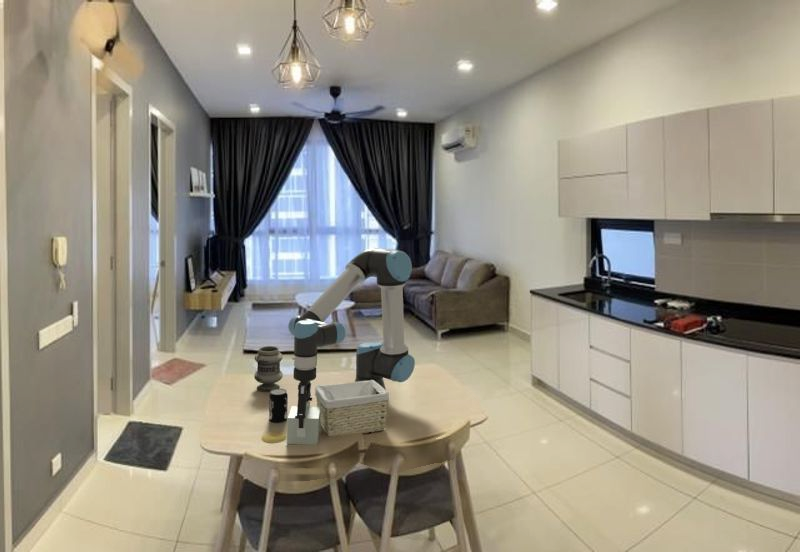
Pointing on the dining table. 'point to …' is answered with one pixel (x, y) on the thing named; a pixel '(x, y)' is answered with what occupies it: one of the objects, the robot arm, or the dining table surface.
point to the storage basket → (352, 407)
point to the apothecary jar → (268, 368)
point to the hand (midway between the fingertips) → (303, 427)
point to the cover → (311, 426)
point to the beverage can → (278, 405)
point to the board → (274, 437)
